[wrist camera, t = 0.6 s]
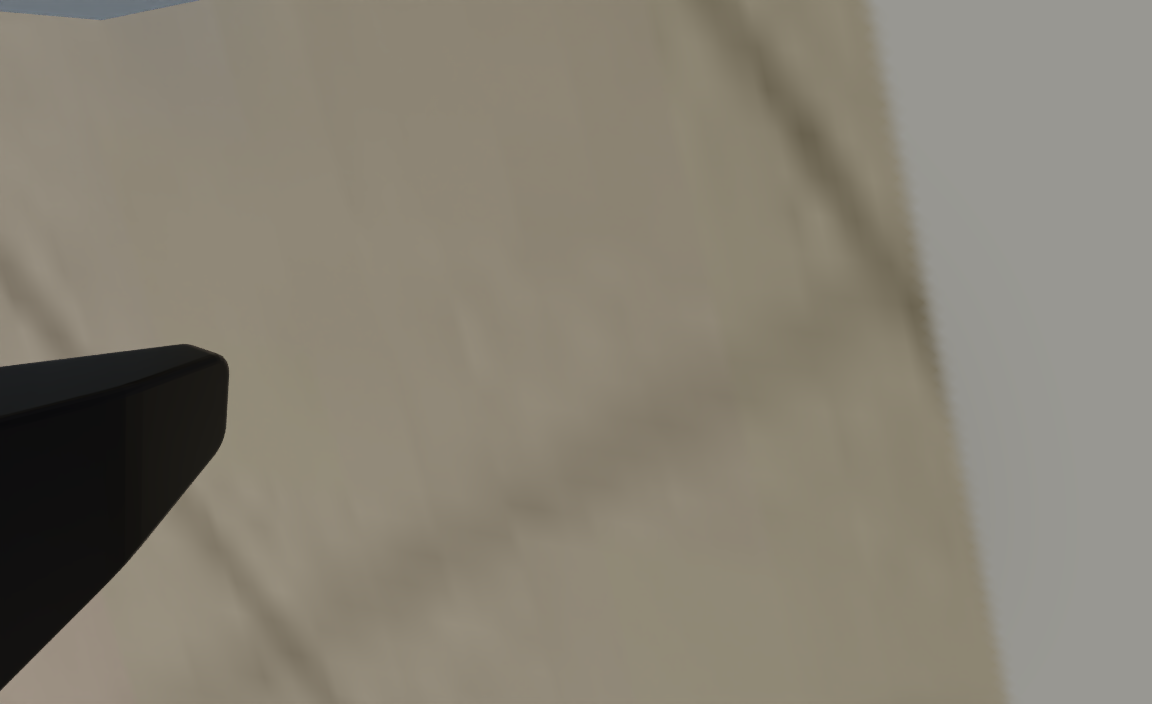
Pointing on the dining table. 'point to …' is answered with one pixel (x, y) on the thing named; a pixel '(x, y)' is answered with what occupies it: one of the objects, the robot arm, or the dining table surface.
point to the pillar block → (85, 7)
